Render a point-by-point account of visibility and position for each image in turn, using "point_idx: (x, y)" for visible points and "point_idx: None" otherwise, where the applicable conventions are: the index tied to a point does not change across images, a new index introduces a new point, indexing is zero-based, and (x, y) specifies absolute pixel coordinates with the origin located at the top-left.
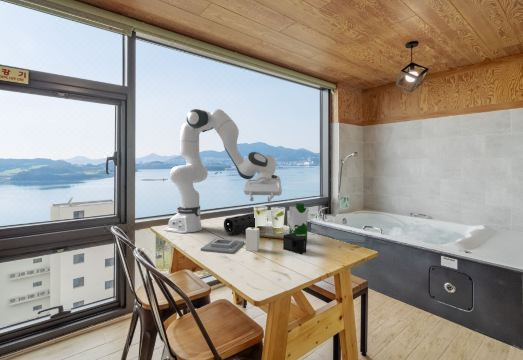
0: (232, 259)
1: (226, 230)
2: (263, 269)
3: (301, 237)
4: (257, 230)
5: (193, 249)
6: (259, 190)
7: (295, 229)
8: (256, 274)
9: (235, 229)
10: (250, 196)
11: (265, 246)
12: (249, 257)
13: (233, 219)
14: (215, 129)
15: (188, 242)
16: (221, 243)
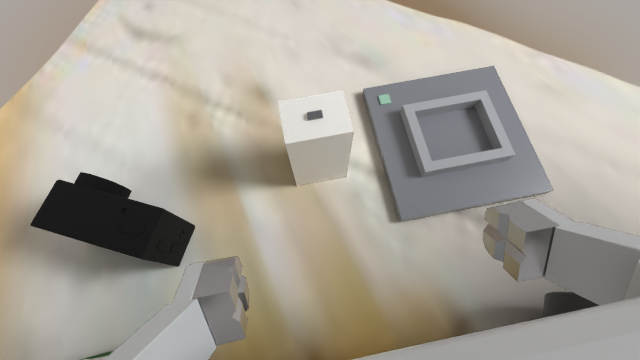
0: (332, 55)
1: None
2: (207, 35)
3: (57, 214)
4: (279, 109)
5: (523, 70)
6: (505, 343)
7: (99, 357)
8: (214, 5)
9: (545, 311)
10: (572, 223)
11: (284, 227)
12: (288, 91)
13: None
14: None
15: (621, 121)
16: (471, 146)
